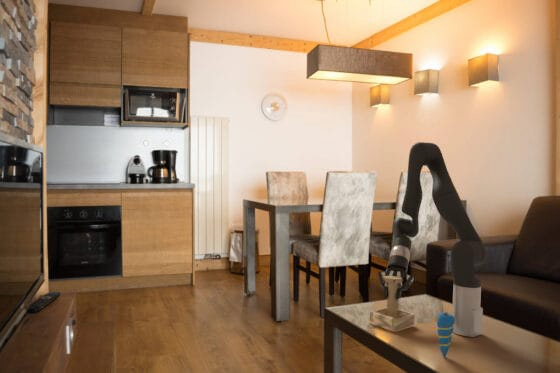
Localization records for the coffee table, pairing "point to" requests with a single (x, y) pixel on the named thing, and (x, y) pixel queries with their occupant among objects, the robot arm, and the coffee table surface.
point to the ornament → (445, 331)
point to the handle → (392, 294)
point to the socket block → (392, 320)
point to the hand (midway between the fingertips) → (391, 297)
